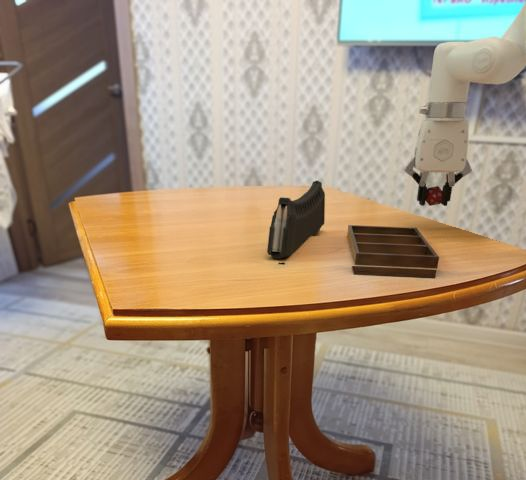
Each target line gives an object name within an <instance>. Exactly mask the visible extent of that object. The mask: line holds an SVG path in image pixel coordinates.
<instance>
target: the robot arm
mask: <svg viewBox="0 0 526 480" xmlns="http://www.w3.org/2000/svg"><path fill="white" fill-rule="evenodd" d="M514 18H515V19H513V21H512V23H511V24H510V25H509V26H508V28H507V29H506V30H505V32H504V33H503V35H502V36H501V37H497V36H488V37H482V38H479V39H473V40H470V41H456V40H455V41H446V42H441V43H439V44H438V45H437V46H436V47H435V49H434V52H433V57H432V65H431V73H430V82H429V89H428V98H427V102H426V104H425V105H423V106H420V107H419V113H418V114H420V115H424V118H425V119H423V120H421V122H420V127H419V129H418V134H417V139H416V144H415V149H414V155H413V156H412V158H411V159H410V160H409V161H408V163H407V164H406V165H405V167H404V168H403V171H404V172H405V173H406V174H407V175H408V176H410V177H411V178H412V179H413V180H414V181H415V182H416V184H417V185H418V189H417V196H416V201H417V202H418V204H419V205H420V206H421V207H422V206H423V207H424V206H426V194H427V188H428V186H427V180H428V176H429V175H430V173H445V183H444V184H443V186H442V189H441V190H442V191H443V193H444V196H443V198H442V201H441V203H440V205H442V206H443V207H447V206H448V202H451V198H452V191H453V187H455V185H456V184H457V183H458V182H459V181H460V180H461V179H463V178H465V177H466V176H468V175H469V174H471V173H472V171H473V169H472V167H471V164H470V162H469V160H468V159H467V157H468V149H469V148H468V147H469V130H470V129H469V120H467V119H465V116H466V110H467V104H468V103H467V102H468V98H469V97H468V96H469V91H470V90H469V89H470V85H471V84H470V83H475V84H482V85H483V84H484V85H503V84H506V83H509V82H510V81H512V80H513V79H514V78H516V77H517V76H518V75H519V74H520V73H521V72H522V71H523V70H524V69H525V68H526V0H524V3H523V4H522V6H521V9H520V11H519V12H518V14H517V15H516V17H514ZM414 168H415V169H416V170H417V171H419V173H418V172H417V171H415V170H414Z"/></svg>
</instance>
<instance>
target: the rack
mask: <svg viewBox="0 0 526 480" xmlns="http://www.w3.org/2000/svg"><path fill="white" fill-rule="evenodd" d="M346 238H347V239H348V243H349V248H350V251H351V256H352V259H353V263H354V265H351V268H352V272H353V275H355V276H356V275H357V276H374V277H375V276H378V277H398V278H419V279H421V278H422V279H436V276H437V272H438V265H439V260H440V256H439V254H437V252H436V251H435V250H434V249H433V247H432V246H431V245H430V243H429V242H428V240H427V239H426V238H425V237H424V235H423V234H422V232H421V231H420V230H419V229H418V227H412V226H411V227H409V226H384V225H380V226H378V225H361V224H360V225H359V224H358V225H357V224H348V225H347V234H346Z"/></svg>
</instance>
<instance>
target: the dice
mask: <svg viewBox="0 0 526 480" xmlns="http://www.w3.org/2000/svg"><path fill="white" fill-rule="evenodd" d="M443 196H444V193H443V191H442V189H441V188H440V186H439V185H436V186H431V187H427V194H426V201H425V203H427V204H428V206H430V207H431V206H437V205H441V201H442V198H443Z"/></svg>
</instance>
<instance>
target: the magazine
mask: <svg viewBox="0 0 526 480" xmlns="http://www.w3.org/2000/svg"><path fill="white" fill-rule="evenodd" d="M277 203H278V204H277V206H276V209H275V211H274V212H273V215H272V217H271V223H270V226H269V231H268V240H267V250H266V253H267V255H268V256H271V257H272V258H273V259H276V260H277V259H278V260H282V259H285V258H290V257H291V256H293V255H294V254H295V252H296V251H298V249H300V248H301V247H302V245H304V244H305V242H306V241H308V240H309V239H310V238H311V237H316V236H317V235H318V233H319V232H320V230H321V228H322V227H323V226H324V225H325V221H326V220H325V217H326V216H325V212H326V211H325V209H326V194H325V191H324V189H323V183H322V182H321V181H320V180H314V181H312V183H311V185H310V188H309V189H308V190H307V191H306V192H304V194H303V195H302V196H300V197H299V198H297V199H294V200H292V199H291V198H290V197H283V196H282V197H279V198H278V202H277ZM278 265H284V266H285V265H286V263H285V262H279V261H278Z"/></svg>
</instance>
